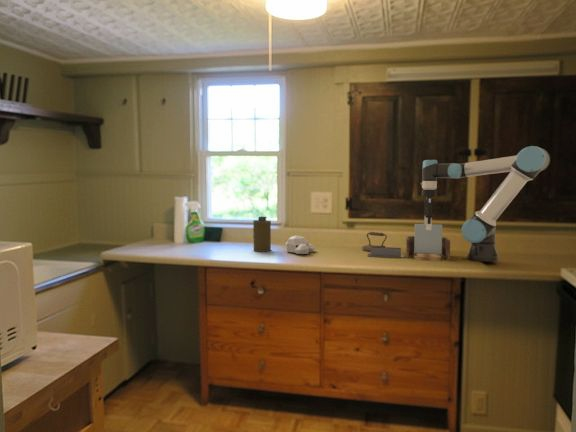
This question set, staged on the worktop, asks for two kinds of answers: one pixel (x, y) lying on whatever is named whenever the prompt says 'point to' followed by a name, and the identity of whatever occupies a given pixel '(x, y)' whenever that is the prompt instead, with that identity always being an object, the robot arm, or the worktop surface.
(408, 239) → the rack
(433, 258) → the offcut middle
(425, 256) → the offcut top
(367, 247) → the clothes iron
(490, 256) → the robot arm
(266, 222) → the canister
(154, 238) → the worktop surface
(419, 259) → the offcut bottom
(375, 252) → the grey block
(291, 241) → the rock
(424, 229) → the sheet
